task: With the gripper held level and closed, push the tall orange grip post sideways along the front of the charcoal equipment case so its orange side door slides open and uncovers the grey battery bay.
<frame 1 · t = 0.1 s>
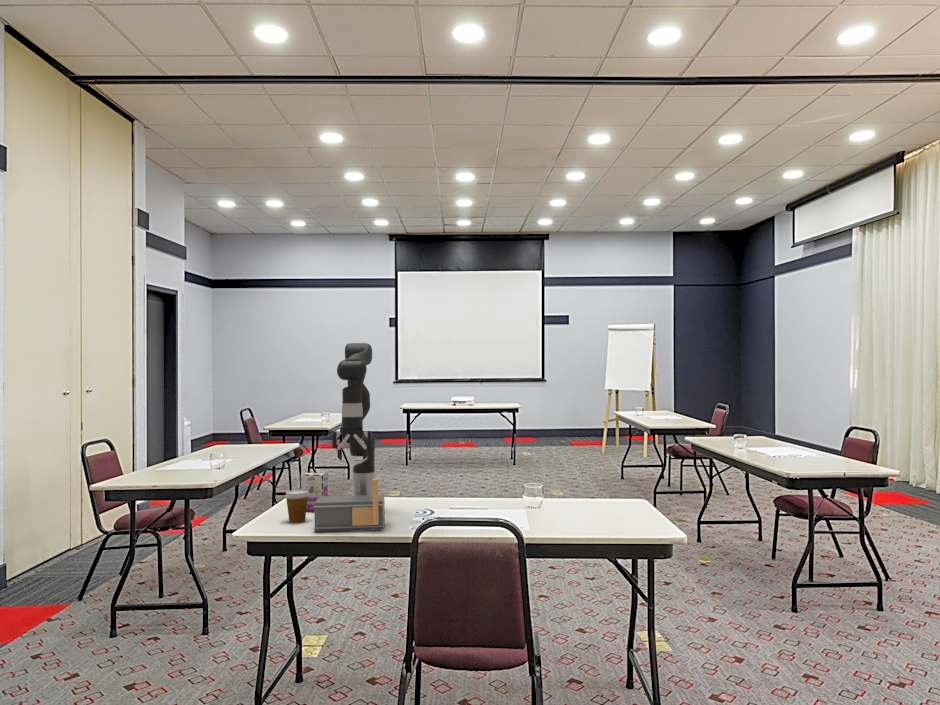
hand: (352, 459, 240), 29 cm above the table, tool pointing down, fingers open, 8 cm apart
disposable coffee cup: (297, 521, 269), on the table
equipment case: (350, 526, 258), on the table
side door: (365, 502, 251), point 11 cm above the table, slide at 0.0 cm
candy bar box: (314, 511, 287), on the table
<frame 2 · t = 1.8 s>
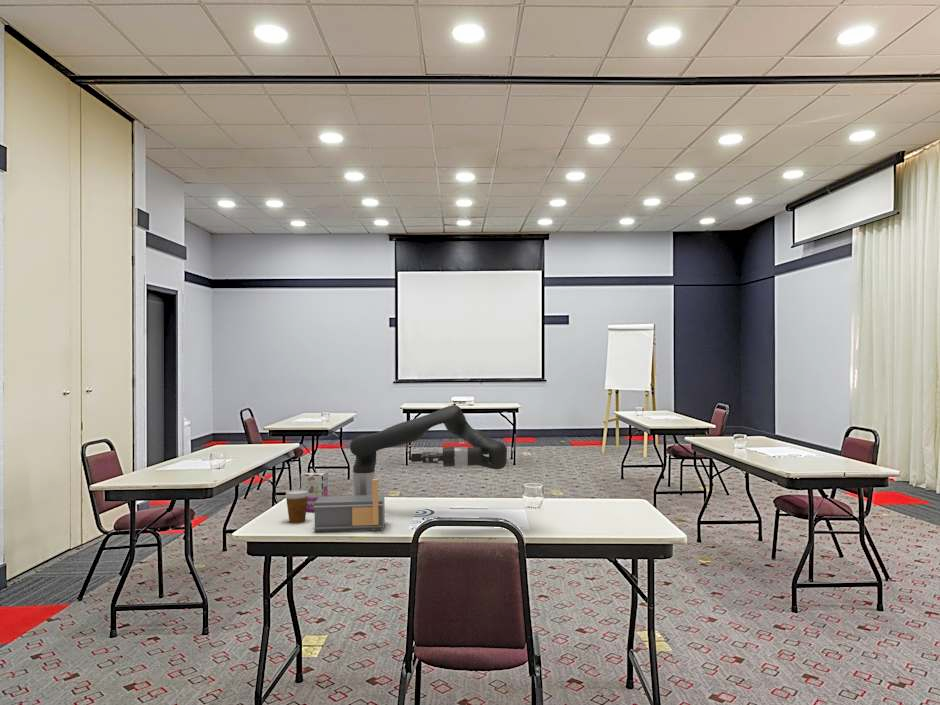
hand: (411, 457, 251), 28 cm above the table, tool horizontal, fingers open, 5 cm apart
nothing on the table moved.
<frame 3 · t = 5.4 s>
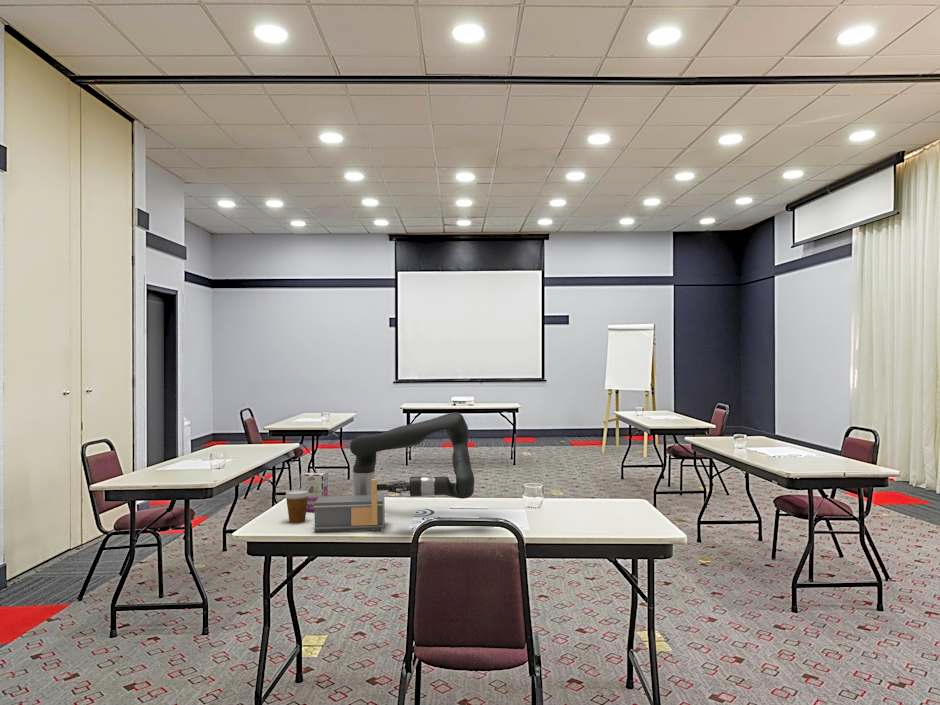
hand: (376, 487, 250), 17 cm above the table, tool horizontal, fingers closed
side door: (364, 502, 251), point 11 cm above the table, slide at 0.4 cm, touching gripper
everything else where it was.
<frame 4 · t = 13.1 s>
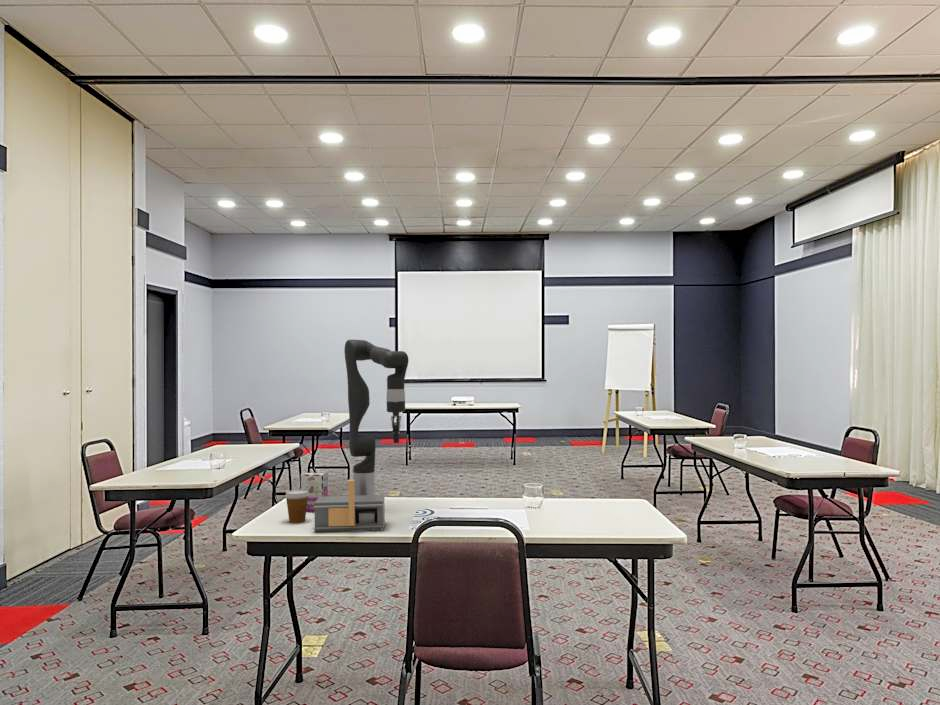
hand: (396, 442, 266), 32 cm above the table, tool pointing down, fingers closed
side door: (341, 503, 250), point 11 cm above the table, slide at 9.0 cm
everything else where it was.
at the end: side door slide at 9.0 cm; disposable coffee cup moved 0.2 cm from its start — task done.
